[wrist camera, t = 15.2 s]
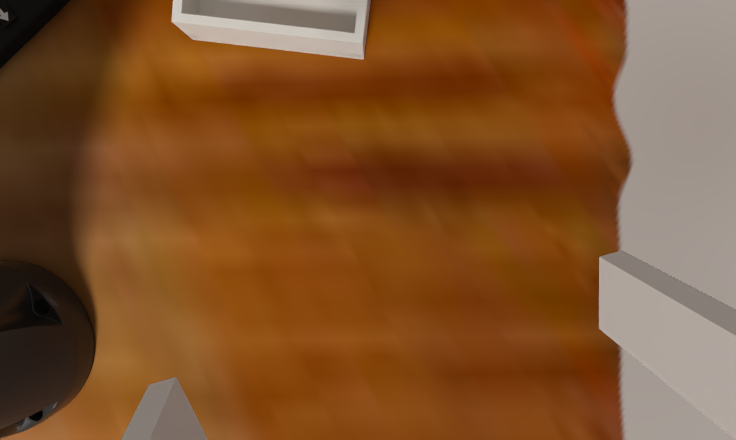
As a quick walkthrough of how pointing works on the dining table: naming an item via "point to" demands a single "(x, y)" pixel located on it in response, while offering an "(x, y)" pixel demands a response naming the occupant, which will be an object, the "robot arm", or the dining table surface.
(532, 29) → the dining table surface
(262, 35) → the tray
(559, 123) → the dining table surface
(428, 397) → the dining table surface
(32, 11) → the remote control
